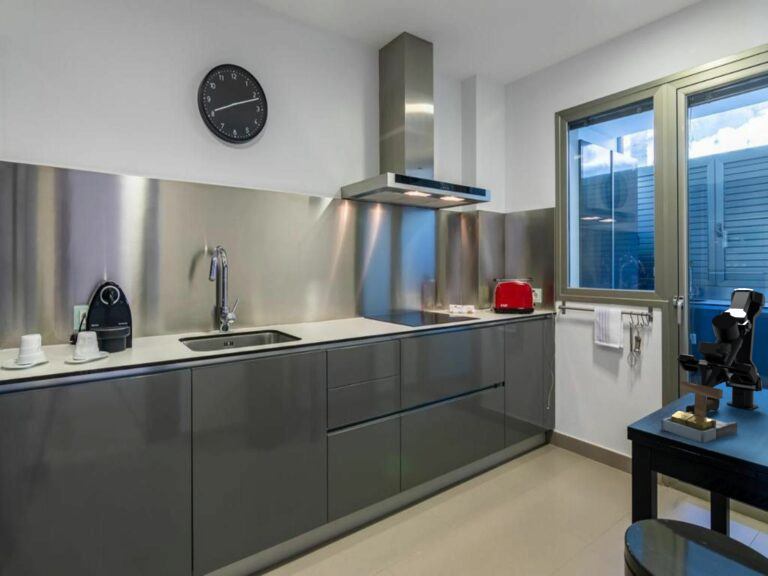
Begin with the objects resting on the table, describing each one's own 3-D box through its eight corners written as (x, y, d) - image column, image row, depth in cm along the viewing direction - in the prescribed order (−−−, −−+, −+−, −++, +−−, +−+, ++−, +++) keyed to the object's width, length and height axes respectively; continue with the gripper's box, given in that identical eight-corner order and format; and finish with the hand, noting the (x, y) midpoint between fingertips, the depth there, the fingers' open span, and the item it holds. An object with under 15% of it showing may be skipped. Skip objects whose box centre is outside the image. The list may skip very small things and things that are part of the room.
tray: (673, 426, 125) (674, 416, 125) (716, 439, 115) (716, 428, 115) (661, 429, 122) (661, 419, 122) (703, 443, 112) (703, 432, 112)
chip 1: (680, 420, 124) (678, 410, 124) (694, 424, 120) (693, 414, 120) (672, 425, 122) (670, 415, 122) (686, 429, 119) (685, 420, 118)
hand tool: (700, 420, 127) (699, 405, 127) (685, 416, 131) (685, 401, 131) (728, 409, 137) (728, 395, 137) (714, 406, 140) (714, 392, 140)
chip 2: (696, 425, 120) (695, 415, 120) (712, 429, 116) (711, 419, 116) (688, 430, 118) (687, 420, 118) (704, 435, 115) (703, 425, 114)
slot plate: (694, 420, 130) (694, 410, 129) (737, 432, 119) (737, 422, 119) (674, 425, 125) (674, 415, 125) (717, 439, 115) (717, 428, 115)
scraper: (683, 417, 126) (684, 381, 126) (721, 428, 117) (722, 389, 117) (677, 418, 125) (677, 382, 124) (715, 430, 116) (716, 391, 115)
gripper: (680, 328, 131) (658, 366, 127) (753, 336, 114) (731, 380, 110) (694, 350, 135) (673, 388, 131) (767, 361, 118) (746, 405, 114)
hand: (703, 390), depth 121 cm, fingers closed, pressing on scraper
